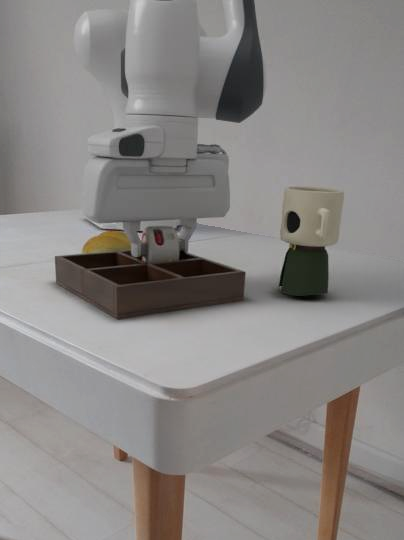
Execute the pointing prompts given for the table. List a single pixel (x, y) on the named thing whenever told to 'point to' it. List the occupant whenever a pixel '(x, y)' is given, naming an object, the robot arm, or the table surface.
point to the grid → (147, 282)
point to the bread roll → (107, 242)
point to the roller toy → (161, 244)
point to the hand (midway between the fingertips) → (159, 254)
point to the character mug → (309, 237)
